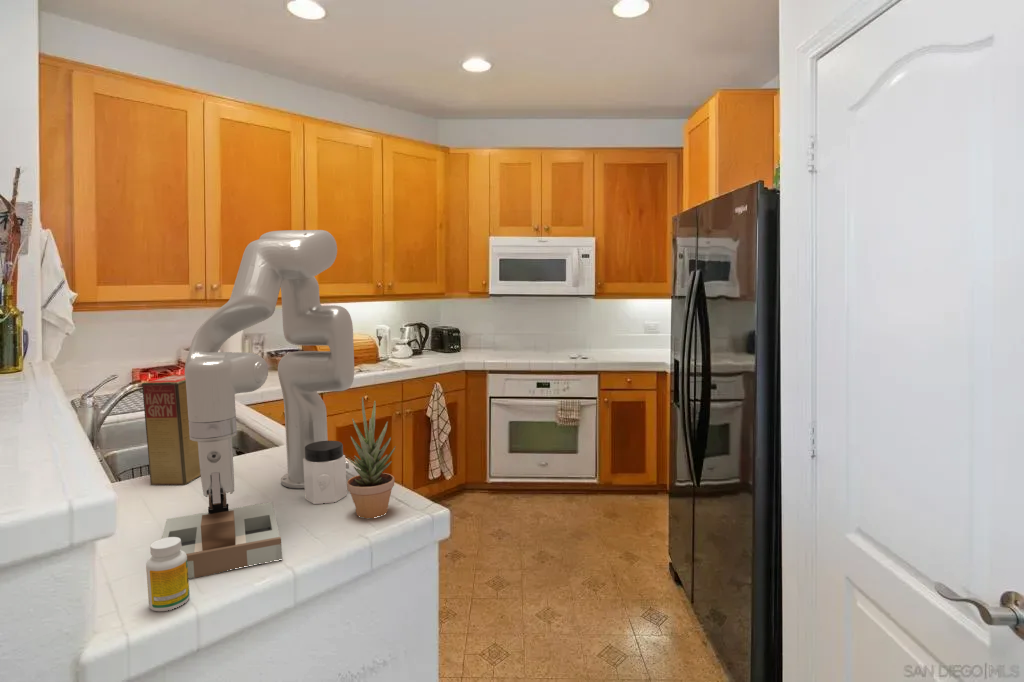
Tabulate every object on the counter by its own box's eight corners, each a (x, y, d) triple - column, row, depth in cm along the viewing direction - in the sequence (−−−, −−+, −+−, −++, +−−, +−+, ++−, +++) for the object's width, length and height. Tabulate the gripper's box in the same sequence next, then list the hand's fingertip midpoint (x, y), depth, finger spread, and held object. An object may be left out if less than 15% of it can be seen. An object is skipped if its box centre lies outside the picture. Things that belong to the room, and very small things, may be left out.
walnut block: (235, 537, 107) (233, 510, 106) (235, 548, 102) (233, 520, 101) (204, 542, 104) (202, 515, 104) (202, 554, 100) (200, 525, 99)
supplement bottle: (143, 605, 90) (138, 544, 89) (180, 590, 94) (175, 531, 93) (159, 616, 87) (154, 553, 86) (196, 600, 91) (192, 540, 90)
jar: (303, 506, 129) (300, 452, 128) (307, 493, 137) (304, 442, 136) (346, 502, 131) (343, 448, 130) (347, 489, 139) (345, 439, 138)
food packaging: (180, 468, 157) (173, 373, 154) (215, 468, 156) (209, 373, 154) (147, 485, 143) (139, 382, 141) (186, 485, 143) (178, 382, 140)
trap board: (273, 516, 124) (272, 497, 123) (282, 560, 104) (280, 538, 103) (167, 533, 115) (166, 513, 115) (155, 585, 96) (153, 561, 95)
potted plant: (374, 501, 131) (369, 390, 129) (404, 510, 126) (401, 395, 123) (336, 516, 123) (331, 398, 120) (368, 527, 118) (363, 403, 115)
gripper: (236, 435, 101) (243, 539, 102) (236, 417, 114) (241, 510, 116) (186, 440, 97) (193, 548, 99) (191, 421, 111) (198, 517, 113)
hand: (219, 527), depth 108 cm, fingers closed
